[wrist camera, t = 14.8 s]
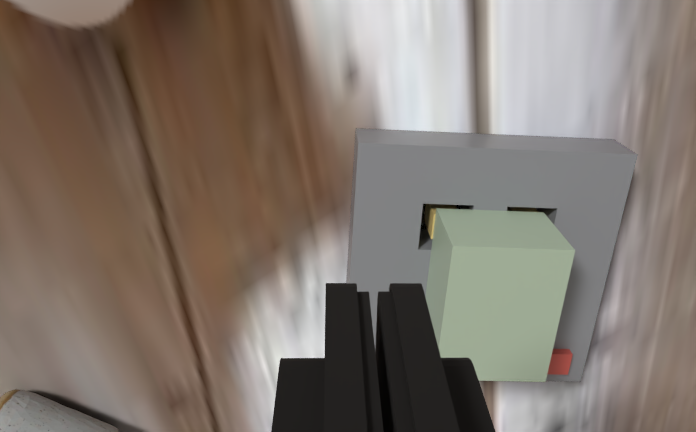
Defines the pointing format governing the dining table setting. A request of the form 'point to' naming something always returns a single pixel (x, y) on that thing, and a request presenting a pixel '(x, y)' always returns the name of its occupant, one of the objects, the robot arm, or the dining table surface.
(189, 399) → the dining table surface
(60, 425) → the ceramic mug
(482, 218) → the plug
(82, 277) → the dining table surface
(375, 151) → the socket plate
